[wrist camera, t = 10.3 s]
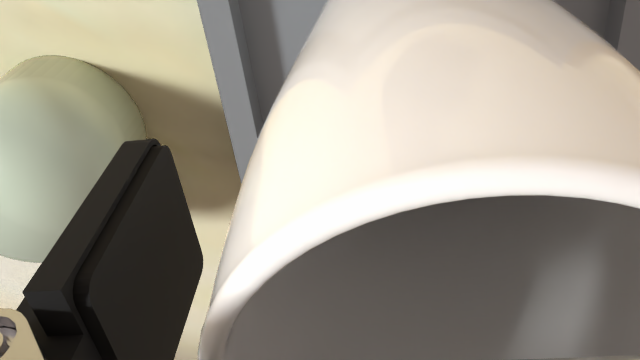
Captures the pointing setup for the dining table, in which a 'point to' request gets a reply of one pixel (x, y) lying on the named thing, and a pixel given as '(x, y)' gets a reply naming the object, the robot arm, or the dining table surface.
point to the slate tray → (292, 31)
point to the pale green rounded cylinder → (55, 147)
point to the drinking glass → (439, 193)
